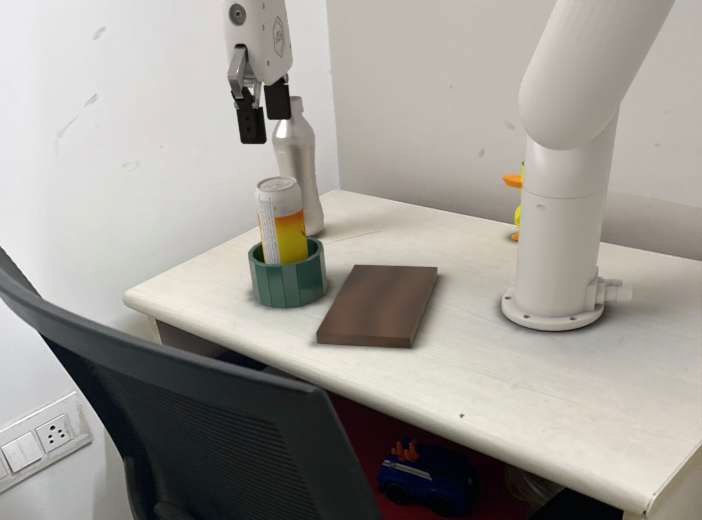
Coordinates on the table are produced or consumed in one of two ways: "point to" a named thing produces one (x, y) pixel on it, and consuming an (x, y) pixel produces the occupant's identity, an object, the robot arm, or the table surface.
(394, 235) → the table surface
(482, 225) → the table surface
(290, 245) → the beer can
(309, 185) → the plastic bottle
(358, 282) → the board
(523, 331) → the table surface
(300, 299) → the crock
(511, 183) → the toy figure
